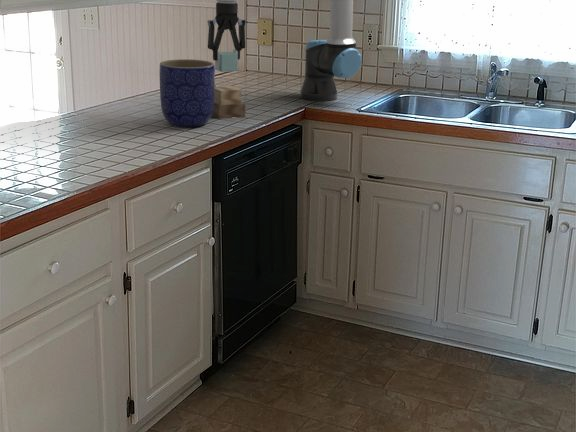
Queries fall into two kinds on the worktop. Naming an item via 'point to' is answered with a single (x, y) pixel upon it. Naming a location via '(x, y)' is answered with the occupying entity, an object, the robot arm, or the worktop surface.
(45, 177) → the worktop surface
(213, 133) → the worktop surface
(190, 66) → the planter
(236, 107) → the tower base
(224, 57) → the teal cube
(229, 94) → the tower top
